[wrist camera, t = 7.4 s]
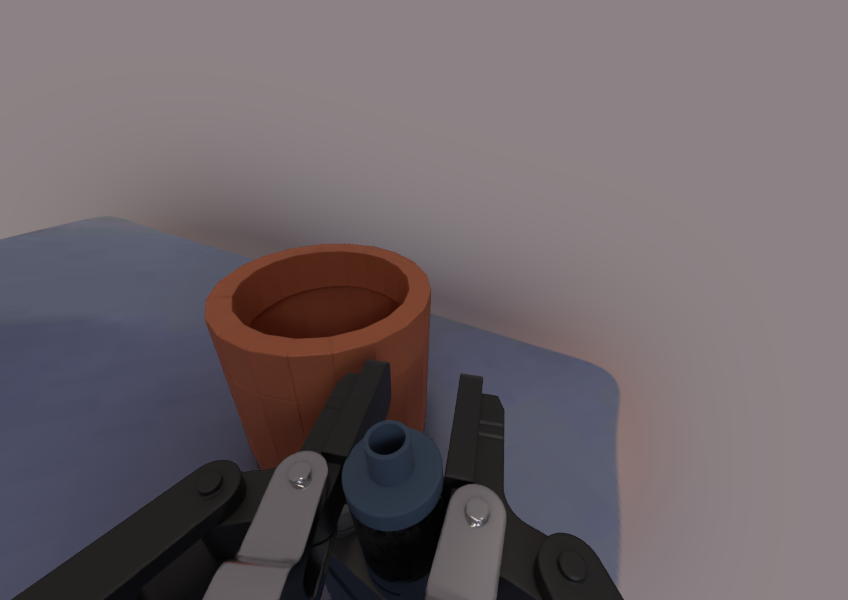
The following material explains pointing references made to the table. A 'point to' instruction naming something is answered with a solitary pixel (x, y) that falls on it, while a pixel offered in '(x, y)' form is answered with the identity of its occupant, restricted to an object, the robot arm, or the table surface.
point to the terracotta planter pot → (318, 337)
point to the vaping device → (388, 516)
